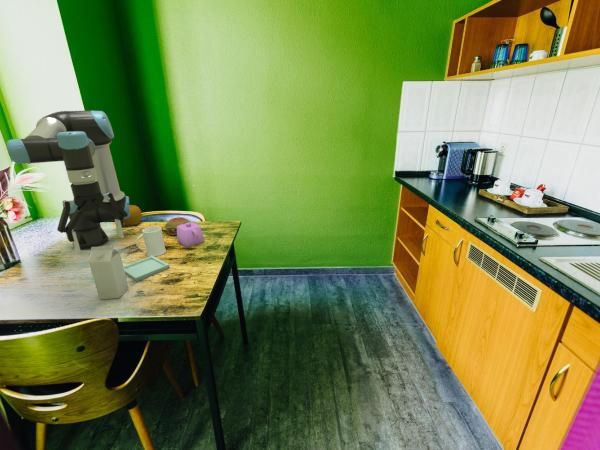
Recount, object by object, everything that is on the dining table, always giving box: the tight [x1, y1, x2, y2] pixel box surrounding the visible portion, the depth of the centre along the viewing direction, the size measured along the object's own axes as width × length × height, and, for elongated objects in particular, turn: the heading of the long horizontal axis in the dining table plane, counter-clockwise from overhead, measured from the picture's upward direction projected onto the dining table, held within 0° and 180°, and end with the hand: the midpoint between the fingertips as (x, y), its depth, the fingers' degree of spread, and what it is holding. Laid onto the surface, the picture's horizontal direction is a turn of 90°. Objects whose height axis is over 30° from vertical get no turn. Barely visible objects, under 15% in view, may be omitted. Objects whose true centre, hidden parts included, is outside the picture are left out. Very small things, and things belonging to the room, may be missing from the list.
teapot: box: [176, 221, 204, 248], centre depth 155 cm, size 18×10×10 cm, turn 44°
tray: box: [123, 256, 171, 283], centre depth 128 cm, size 14×14×2 cm
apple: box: [123, 204, 142, 226], centre depth 180 cm, size 13×13×11 cm
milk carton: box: [88, 245, 129, 300], centre depth 109 cm, size 7×7×19 cm
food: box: [164, 216, 192, 236], centre depth 168 cm, size 14×14×8 cm
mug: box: [135, 225, 167, 257], centre depth 141 cm, size 12×8×12 cm
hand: (100, 243), depth 104 cm, fingers open, 13 cm apart
